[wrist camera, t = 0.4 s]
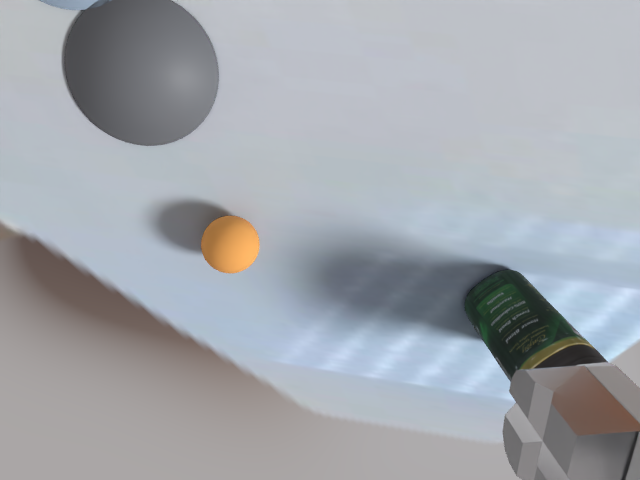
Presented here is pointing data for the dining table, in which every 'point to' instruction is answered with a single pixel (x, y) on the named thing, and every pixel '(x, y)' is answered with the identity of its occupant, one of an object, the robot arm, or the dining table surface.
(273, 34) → the dining table surface
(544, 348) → the coffee jar
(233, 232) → the ball
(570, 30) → the dining table surface
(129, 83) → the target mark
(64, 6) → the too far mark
